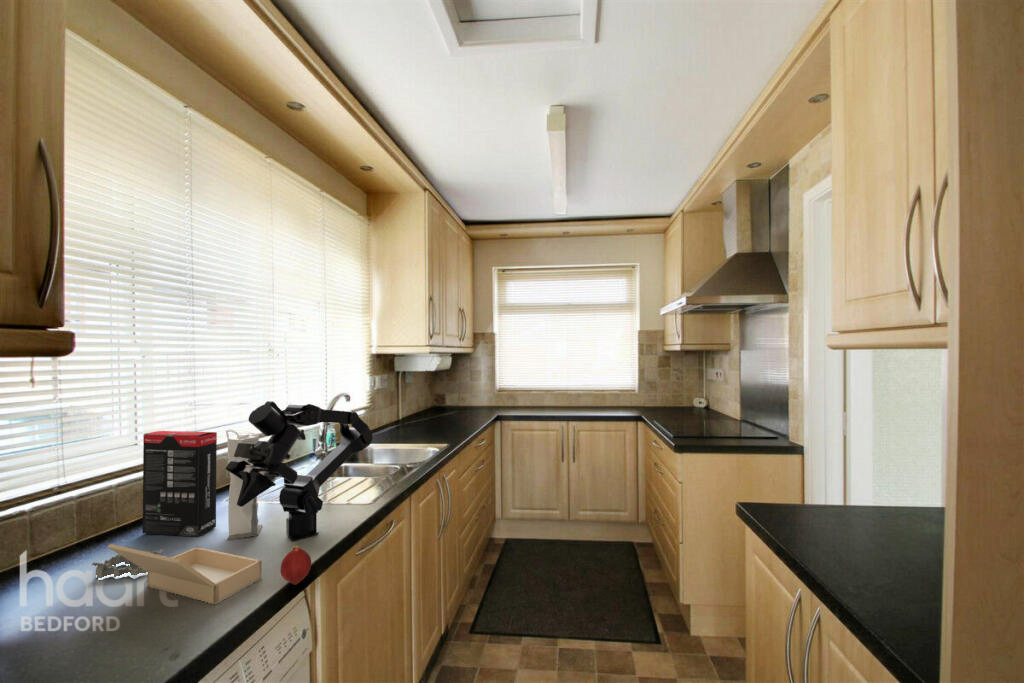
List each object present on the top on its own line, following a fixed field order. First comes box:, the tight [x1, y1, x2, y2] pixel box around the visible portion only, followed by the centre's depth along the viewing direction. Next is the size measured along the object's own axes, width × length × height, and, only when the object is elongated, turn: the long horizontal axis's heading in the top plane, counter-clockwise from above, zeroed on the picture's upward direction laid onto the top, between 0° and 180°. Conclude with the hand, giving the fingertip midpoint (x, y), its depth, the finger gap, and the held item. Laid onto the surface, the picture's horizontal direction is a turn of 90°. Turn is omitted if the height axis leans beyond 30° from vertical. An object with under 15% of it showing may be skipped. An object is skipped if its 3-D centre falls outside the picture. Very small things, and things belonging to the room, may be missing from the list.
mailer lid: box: [107, 543, 216, 587], centre depth 84 cm, size 10×20×1 cm
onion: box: [280, 545, 312, 585], centre depth 91 cm, size 6×6×8 cm
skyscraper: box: [225, 429, 263, 541], centre depth 118 cm, size 8×8×28 cm
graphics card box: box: [141, 430, 218, 538], centre depth 118 cm, size 17×7×27 cm, turn 84°
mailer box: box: [147, 546, 262, 605], centre depth 92 cm, size 10×20×4 cm, turn 70°
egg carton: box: [91, 548, 164, 578], centre depth 96 cm, size 11×8×4 cm
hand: (239, 505), depth 99 cm, fingers closed
